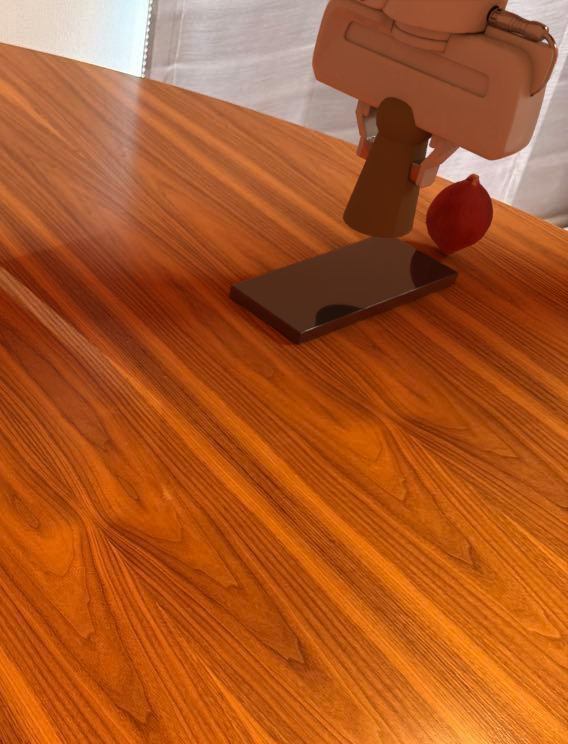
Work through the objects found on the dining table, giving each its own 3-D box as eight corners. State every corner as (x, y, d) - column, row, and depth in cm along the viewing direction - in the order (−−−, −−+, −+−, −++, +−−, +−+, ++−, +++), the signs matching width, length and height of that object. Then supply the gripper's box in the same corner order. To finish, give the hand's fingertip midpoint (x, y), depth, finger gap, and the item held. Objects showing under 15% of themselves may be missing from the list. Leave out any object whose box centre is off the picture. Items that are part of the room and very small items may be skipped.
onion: (413, 235, 97) (439, 156, 92) (473, 242, 97) (503, 163, 91) (417, 263, 93) (445, 182, 88) (480, 271, 93) (512, 190, 87)
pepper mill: (339, 202, 88) (373, 76, 80) (407, 208, 88) (448, 81, 80) (345, 234, 84) (382, 104, 76) (417, 241, 83) (461, 110, 76)
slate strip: (382, 242, 96) (386, 231, 95) (455, 284, 91) (459, 272, 90) (228, 296, 88) (230, 284, 87) (297, 345, 83) (301, 332, 82)
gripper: (594, 24, 68) (518, 212, 78) (376, -49, 80) (334, 121, 90) (537, 39, 65) (466, 230, 75) (321, -40, 77) (283, 134, 87)
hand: (393, 170), depth 83 cm, fingers closed on pepper mill, 4 cm apart
